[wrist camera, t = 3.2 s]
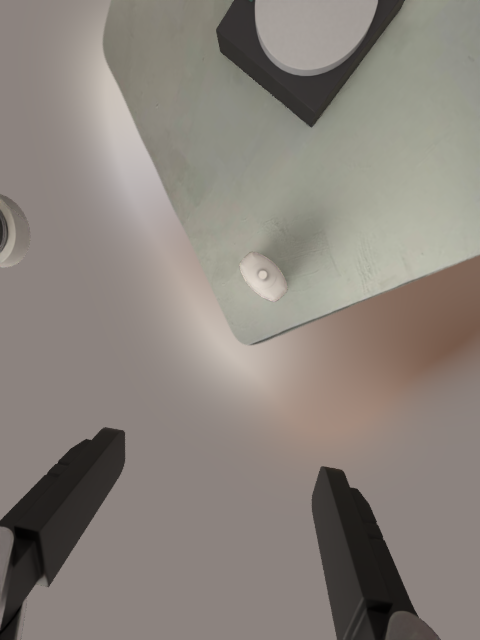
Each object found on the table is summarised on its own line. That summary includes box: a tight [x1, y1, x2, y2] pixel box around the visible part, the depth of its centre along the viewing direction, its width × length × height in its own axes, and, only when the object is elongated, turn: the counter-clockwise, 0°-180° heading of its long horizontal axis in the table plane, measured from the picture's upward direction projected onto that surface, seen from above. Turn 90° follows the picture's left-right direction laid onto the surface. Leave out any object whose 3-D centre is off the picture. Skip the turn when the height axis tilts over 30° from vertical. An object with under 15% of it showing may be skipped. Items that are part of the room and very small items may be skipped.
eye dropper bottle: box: [239, 252, 288, 302], centre depth 25 cm, size 4×6×12 cm
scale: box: [216, 0, 405, 127], centre depth 25 cm, size 14×14×3 cm
